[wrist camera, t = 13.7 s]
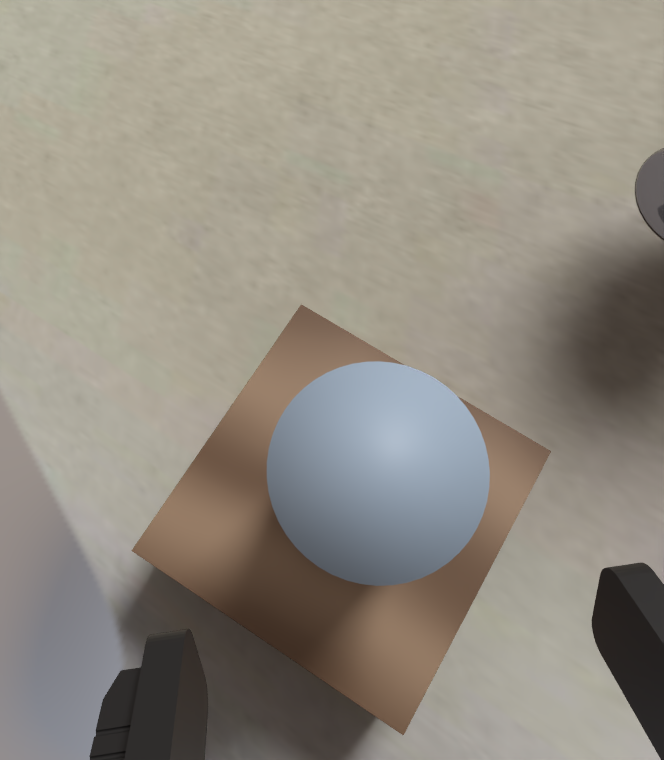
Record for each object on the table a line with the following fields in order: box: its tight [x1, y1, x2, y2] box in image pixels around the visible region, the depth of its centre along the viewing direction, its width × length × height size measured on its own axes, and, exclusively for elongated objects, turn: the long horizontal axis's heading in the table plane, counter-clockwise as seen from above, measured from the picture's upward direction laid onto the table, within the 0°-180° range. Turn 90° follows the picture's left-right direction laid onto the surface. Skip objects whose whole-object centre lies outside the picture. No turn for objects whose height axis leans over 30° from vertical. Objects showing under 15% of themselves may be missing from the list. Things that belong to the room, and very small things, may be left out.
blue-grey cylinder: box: [267, 361, 490, 586], centre depth 19 cm, size 5×5×10 cm
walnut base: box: [132, 305, 551, 735], centre depth 26 cm, size 12×12×5 cm
